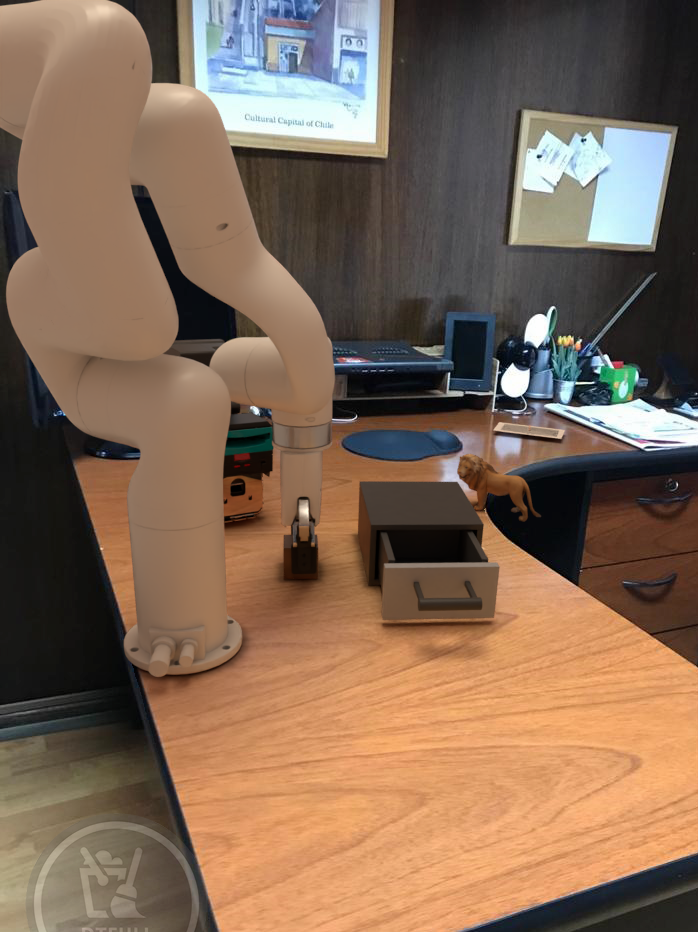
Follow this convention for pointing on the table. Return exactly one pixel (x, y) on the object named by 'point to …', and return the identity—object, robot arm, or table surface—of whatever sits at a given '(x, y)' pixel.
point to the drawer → (434, 575)
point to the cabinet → (410, 513)
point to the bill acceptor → (237, 444)
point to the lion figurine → (493, 484)
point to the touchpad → (529, 430)
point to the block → (287, 560)
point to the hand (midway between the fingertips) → (303, 556)
